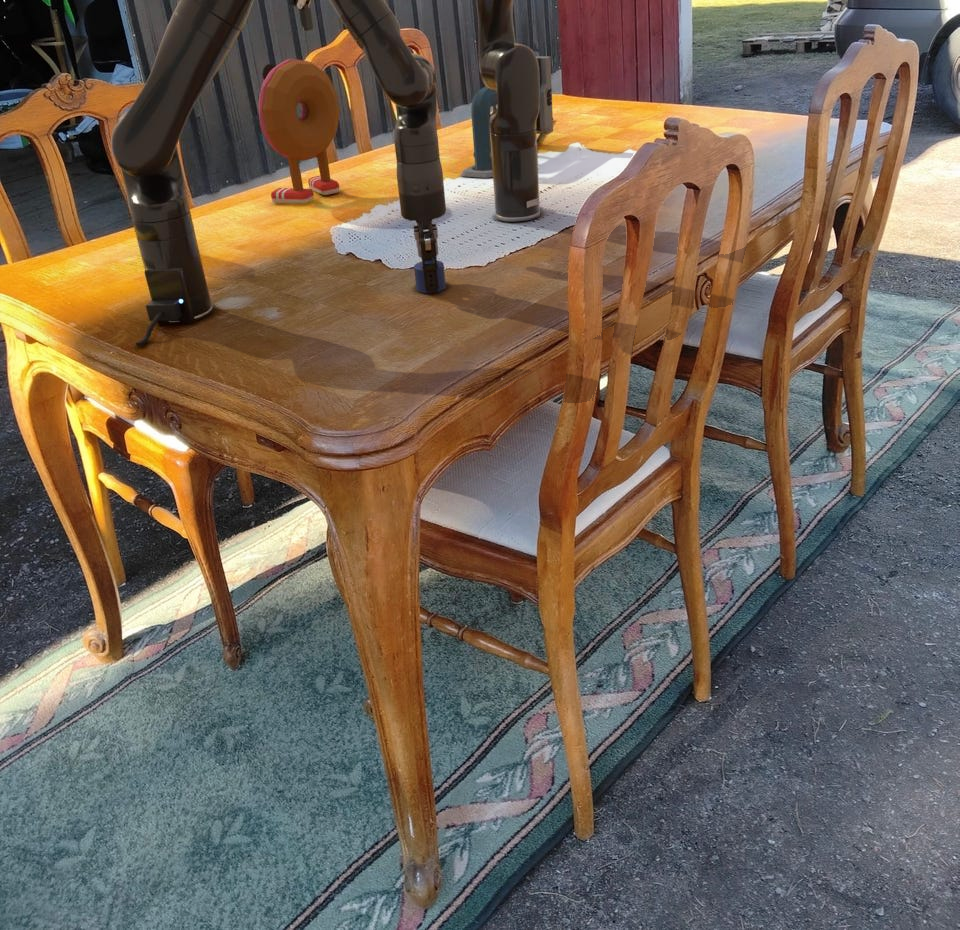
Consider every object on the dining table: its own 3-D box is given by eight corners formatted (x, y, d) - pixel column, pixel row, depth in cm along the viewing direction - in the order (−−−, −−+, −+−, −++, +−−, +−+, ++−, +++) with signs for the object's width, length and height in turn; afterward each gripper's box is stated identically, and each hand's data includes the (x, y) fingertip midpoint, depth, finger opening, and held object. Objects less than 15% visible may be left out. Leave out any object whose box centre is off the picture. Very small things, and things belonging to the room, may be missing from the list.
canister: (411, 287, 168) (408, 264, 166) (436, 280, 170) (434, 257, 168) (425, 295, 164) (423, 272, 162) (451, 288, 167) (449, 265, 164)
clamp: (490, 178, 228) (484, 82, 217) (458, 176, 232) (450, 81, 221) (553, 143, 254) (550, 56, 243) (523, 142, 258) (519, 56, 247)
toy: (329, 182, 236) (308, 50, 220) (358, 186, 230) (339, 51, 215) (260, 205, 222) (234, 66, 207) (289, 210, 216) (264, 67, 201)
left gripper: (446, 196, 153) (456, 297, 161) (440, 174, 165) (449, 269, 174) (399, 200, 152) (411, 302, 161) (396, 178, 165) (407, 274, 173)
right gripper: (269, -65, 173) (285, 33, 181) (338, -70, 168) (351, 31, 176) (292, -68, 179) (306, 27, 187) (359, -73, 174) (371, 25, 182)
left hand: (431, 284), depth 167 cm, fingers closed on canister, 5 cm apart
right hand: (328, 29), depth 182 cm, fingers open, 8 cm apart
